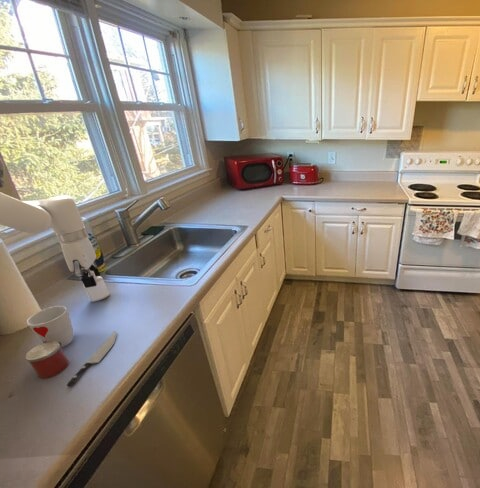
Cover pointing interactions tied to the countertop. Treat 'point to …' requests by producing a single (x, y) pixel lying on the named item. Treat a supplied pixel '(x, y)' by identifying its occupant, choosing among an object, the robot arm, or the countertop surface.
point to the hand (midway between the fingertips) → (93, 282)
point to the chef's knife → (95, 357)
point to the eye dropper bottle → (97, 289)
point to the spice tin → (47, 359)
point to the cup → (52, 325)
